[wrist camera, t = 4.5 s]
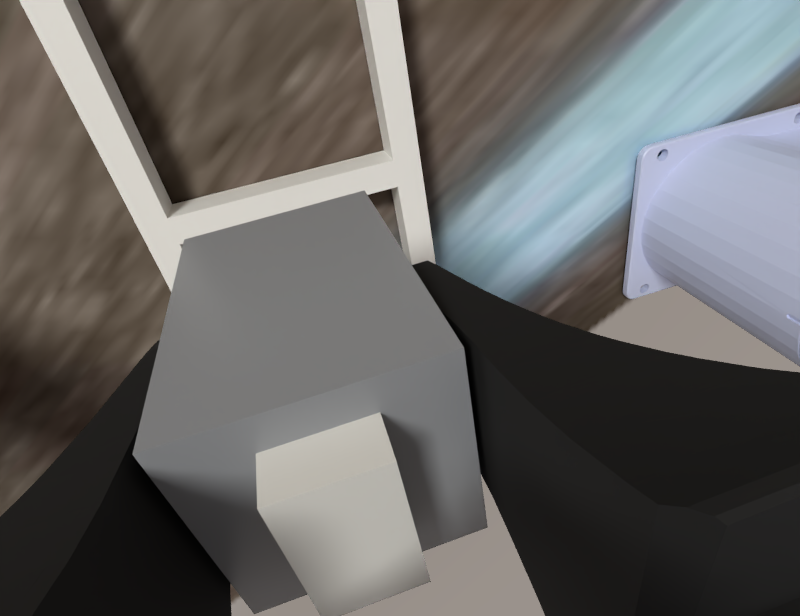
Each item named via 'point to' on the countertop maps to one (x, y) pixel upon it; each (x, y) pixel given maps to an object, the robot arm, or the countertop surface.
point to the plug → (311, 410)
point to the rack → (172, 223)
